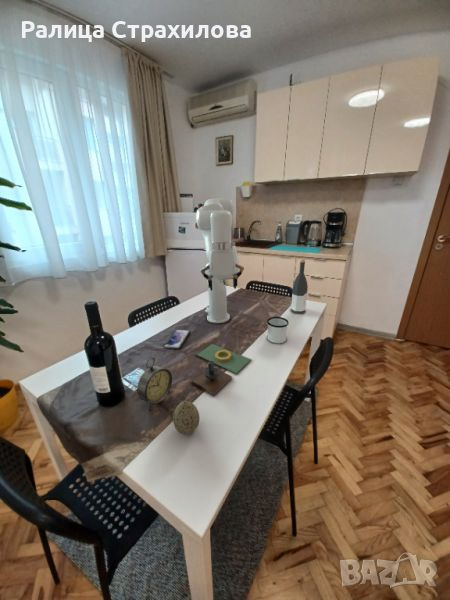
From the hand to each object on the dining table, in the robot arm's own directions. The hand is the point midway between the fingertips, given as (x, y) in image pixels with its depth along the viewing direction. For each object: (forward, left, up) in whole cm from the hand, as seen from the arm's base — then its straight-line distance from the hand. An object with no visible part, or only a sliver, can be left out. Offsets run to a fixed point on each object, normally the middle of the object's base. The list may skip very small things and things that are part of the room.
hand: (223, 288), depth 97 cm
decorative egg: (+18, -41, -26) cm, 52 cm away
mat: (+6, -9, -26) cm, 28 cm away
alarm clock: (+2, -39, -26) cm, 47 cm away
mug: (+17, +18, -26) cm, 36 cm away
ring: (+6, -9, -26) cm, 28 cm away
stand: (+11, -22, -26) cm, 36 cm away
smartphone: (-20, -10, -26) cm, 35 cm away
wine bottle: (+14, +51, -26) cm, 59 cm away
